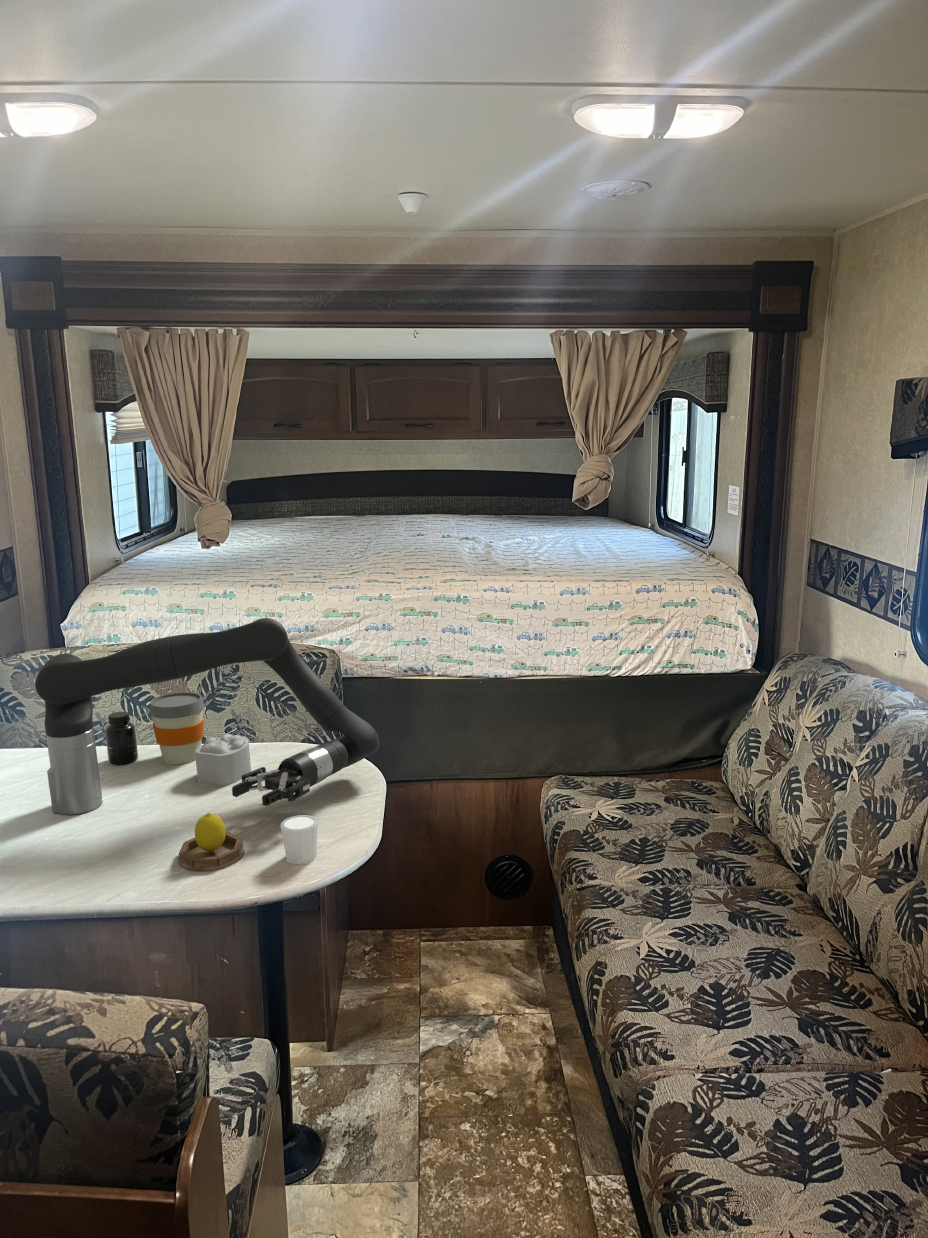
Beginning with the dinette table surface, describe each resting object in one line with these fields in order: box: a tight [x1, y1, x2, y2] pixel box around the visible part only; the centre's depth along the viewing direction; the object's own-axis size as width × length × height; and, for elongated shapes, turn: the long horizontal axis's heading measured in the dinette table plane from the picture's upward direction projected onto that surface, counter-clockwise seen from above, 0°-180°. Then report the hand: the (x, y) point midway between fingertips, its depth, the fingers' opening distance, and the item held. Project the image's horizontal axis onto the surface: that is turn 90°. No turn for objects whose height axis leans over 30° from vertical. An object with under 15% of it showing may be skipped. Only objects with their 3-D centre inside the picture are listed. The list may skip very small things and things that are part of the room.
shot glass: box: [280, 814, 319, 865], centre depth 161 cm, size 7×7×7 cm
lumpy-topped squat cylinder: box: [195, 733, 252, 786], centre depth 202 cm, size 10×13×9 cm
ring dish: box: [178, 831, 246, 872], centre depth 163 cm, size 12×12×2 cm
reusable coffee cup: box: [149, 691, 205, 765], centre depth 212 cm, size 13×13×15 cm
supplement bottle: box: [104, 711, 139, 766], centre depth 211 cm, size 7×7×12 cm
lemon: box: [194, 812, 226, 853], centre depth 163 cm, size 6×6×8 cm
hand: (248, 797), depth 170 cm, fingers open, 8 cm apart
